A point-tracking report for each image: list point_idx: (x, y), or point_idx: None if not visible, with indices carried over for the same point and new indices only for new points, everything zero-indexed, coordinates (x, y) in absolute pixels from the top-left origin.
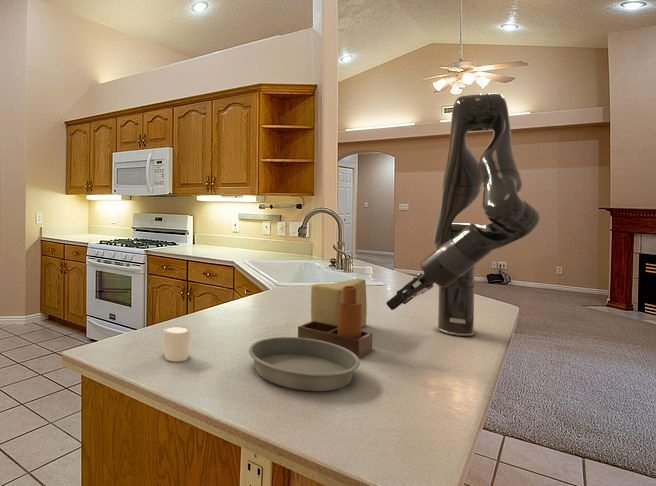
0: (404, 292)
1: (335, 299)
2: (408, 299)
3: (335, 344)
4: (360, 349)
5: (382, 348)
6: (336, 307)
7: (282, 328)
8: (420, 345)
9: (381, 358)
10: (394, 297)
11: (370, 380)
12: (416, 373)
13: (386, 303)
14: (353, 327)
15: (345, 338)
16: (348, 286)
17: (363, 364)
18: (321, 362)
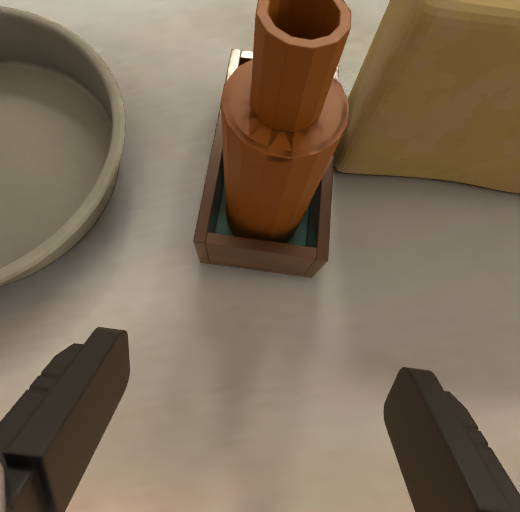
0: (441, 435)
1: (392, 42)
2: (404, 463)
3: (101, 187)
4: (211, 255)
5: (357, 300)
6: (376, 79)
7: None
8: (493, 406)
9: (249, 320)
10: (41, 409)
11: (11, 339)
12: (163, 456)
13: (101, 328)
14: (233, 197)
15: (202, 196)
16: (332, 1)
17: (153, 287)
18: (86, 185)
